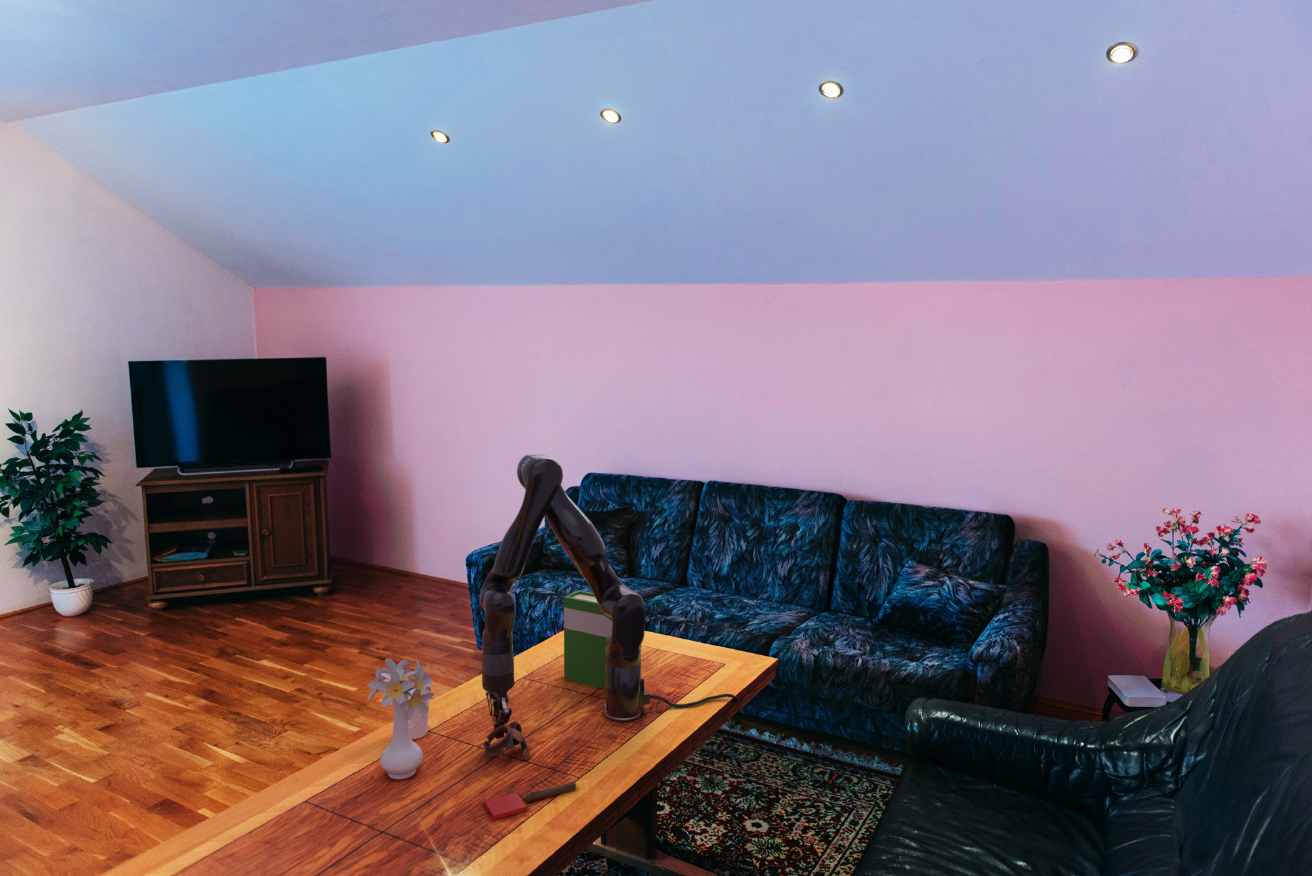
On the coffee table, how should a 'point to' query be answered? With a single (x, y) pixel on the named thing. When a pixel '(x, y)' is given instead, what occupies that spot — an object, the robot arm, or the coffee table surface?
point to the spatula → (515, 804)
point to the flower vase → (402, 714)
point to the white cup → (418, 722)
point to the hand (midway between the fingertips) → (499, 736)
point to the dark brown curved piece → (506, 740)
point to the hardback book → (585, 639)
